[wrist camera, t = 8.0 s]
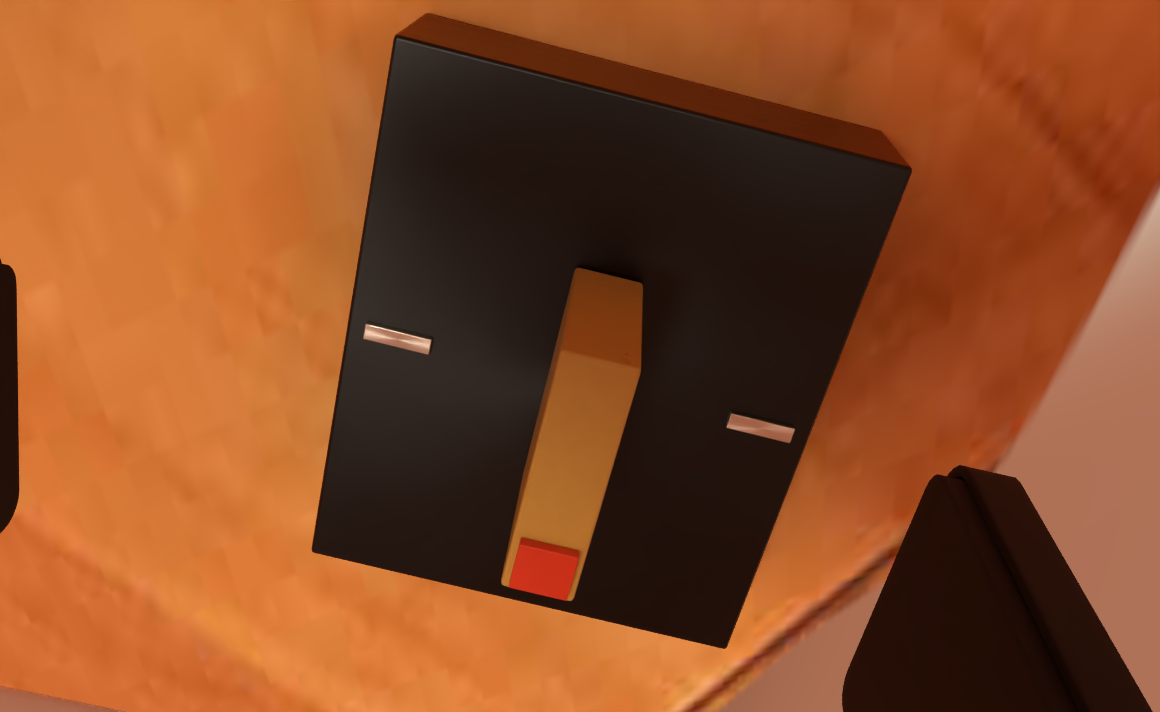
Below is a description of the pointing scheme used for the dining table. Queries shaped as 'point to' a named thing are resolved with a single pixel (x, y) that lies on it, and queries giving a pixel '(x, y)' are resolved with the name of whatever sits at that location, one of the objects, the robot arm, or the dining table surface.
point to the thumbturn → (576, 434)
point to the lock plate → (537, 302)
